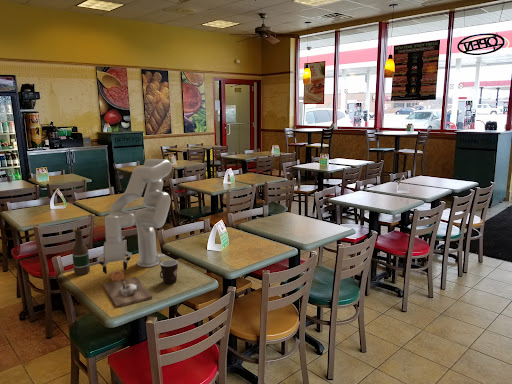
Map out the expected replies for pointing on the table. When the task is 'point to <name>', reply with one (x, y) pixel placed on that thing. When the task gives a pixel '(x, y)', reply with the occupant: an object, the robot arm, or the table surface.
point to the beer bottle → (80, 255)
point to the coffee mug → (169, 271)
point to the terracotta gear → (117, 275)
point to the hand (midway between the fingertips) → (115, 271)
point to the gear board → (128, 299)
